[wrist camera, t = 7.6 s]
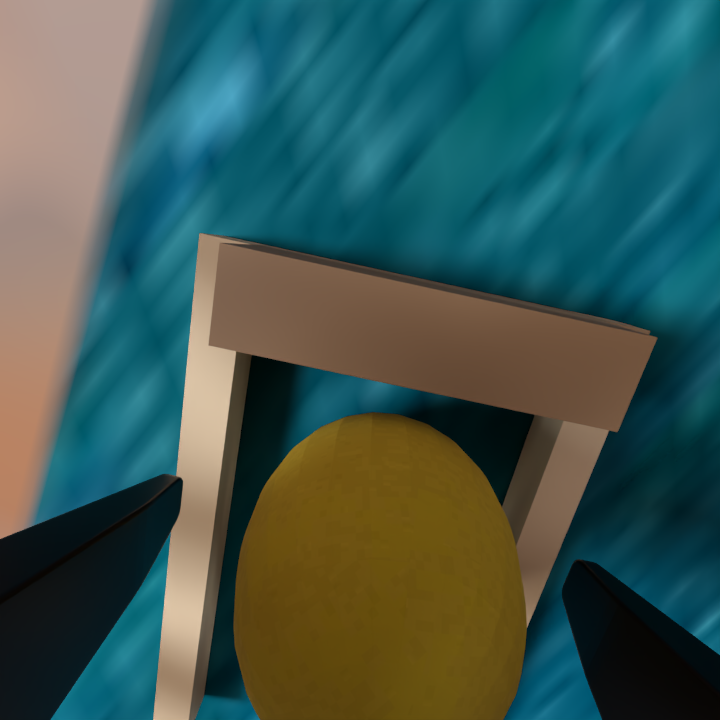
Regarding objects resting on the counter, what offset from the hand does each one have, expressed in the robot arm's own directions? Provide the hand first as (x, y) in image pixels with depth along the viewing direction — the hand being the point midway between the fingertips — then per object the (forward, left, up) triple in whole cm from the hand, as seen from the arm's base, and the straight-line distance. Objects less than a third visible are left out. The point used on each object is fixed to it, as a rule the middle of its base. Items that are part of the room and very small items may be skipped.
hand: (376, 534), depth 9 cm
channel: (-3, 0, -4) cm, 5 cm away
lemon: (0, 0, -4) cm, 4 cm away
